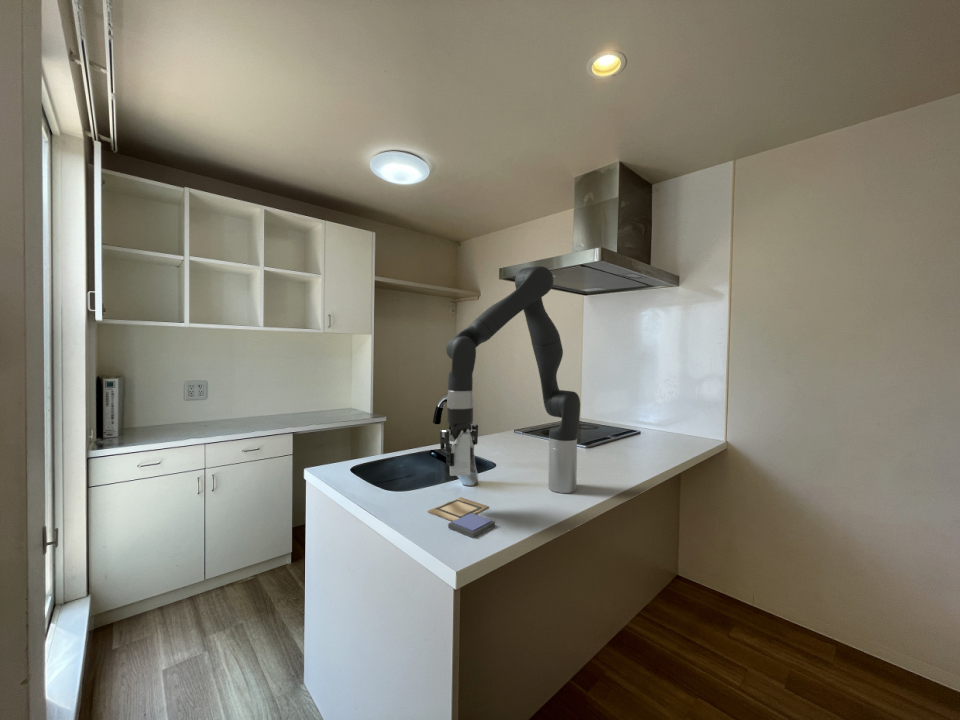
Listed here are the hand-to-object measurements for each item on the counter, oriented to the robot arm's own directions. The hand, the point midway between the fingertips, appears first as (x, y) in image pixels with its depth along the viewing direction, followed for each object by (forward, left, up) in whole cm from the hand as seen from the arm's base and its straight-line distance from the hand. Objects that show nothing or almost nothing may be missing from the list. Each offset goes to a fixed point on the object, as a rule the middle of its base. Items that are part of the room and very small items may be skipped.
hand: (459, 462), depth 113 cm
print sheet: (0, 0, -14) cm, 14 cm away
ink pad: (+6, +10, -14) cm, 18 cm away
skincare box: (0, 0, -3) cm, 3 cm away
